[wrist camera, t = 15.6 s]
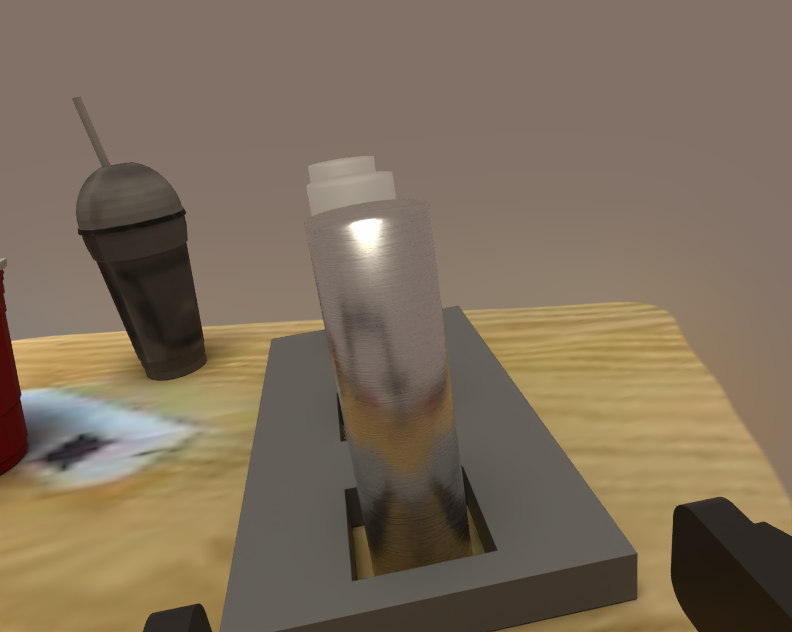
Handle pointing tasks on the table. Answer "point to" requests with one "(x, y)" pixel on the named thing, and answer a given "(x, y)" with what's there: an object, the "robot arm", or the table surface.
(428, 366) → the steel pin
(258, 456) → the pin board
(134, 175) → the beverage cup
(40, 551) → the table surface
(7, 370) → the plastic cup
